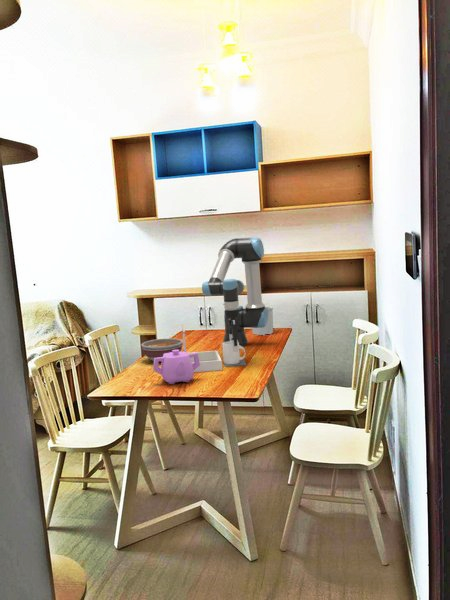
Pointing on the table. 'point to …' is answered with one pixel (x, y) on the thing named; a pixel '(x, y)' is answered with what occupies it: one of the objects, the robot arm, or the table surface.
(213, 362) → the cold frame
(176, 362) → the purple rounded pot
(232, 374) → the table surface
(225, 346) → the mug
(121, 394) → the table surface
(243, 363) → the slate mat
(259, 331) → the utensil holder
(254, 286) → the robot arm
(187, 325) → the table surface
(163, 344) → the bowl
